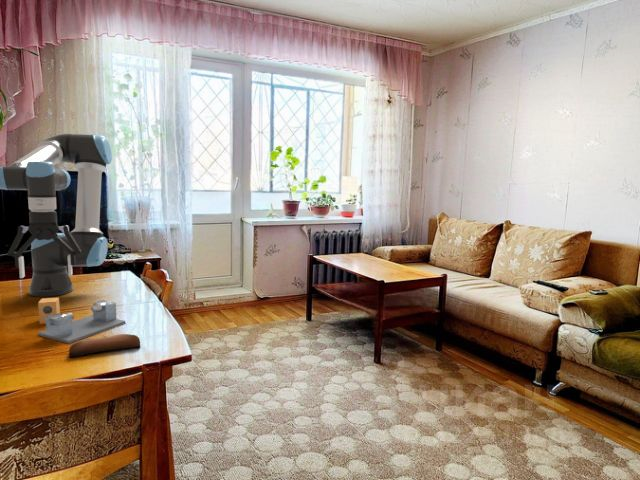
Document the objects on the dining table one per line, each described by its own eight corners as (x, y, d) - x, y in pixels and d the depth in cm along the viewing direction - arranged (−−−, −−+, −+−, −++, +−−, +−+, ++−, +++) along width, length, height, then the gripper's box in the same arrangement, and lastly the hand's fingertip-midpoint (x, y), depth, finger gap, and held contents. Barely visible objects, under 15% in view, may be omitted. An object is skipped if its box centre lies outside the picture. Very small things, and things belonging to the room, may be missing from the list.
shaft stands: (46, 334, 135) (45, 316, 134) (103, 316, 153) (103, 299, 152) (60, 338, 132) (58, 319, 131) (116, 318, 150) (115, 302, 149)
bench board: (38, 334, 136) (37, 332, 136) (95, 316, 154) (95, 314, 154) (69, 343, 131) (69, 341, 130) (125, 323, 149) (125, 320, 148)
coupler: (39, 323, 146) (38, 302, 145) (43, 318, 151) (41, 298, 150) (57, 322, 148) (55, 301, 146) (60, 317, 152) (58, 297, 151)
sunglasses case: (137, 337, 136) (138, 323, 132) (140, 356, 132) (141, 342, 128) (69, 347, 128) (67, 332, 124) (69, 367, 123) (68, 352, 119)
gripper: (-8, 211, 136) (-3, 280, 139) (85, 211, 144) (88, 276, 147) (0, 209, 143) (4, 275, 146) (88, 209, 151) (91, 271, 154)
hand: (46, 276), depth 146 cm, fingers open, 13 cm apart
